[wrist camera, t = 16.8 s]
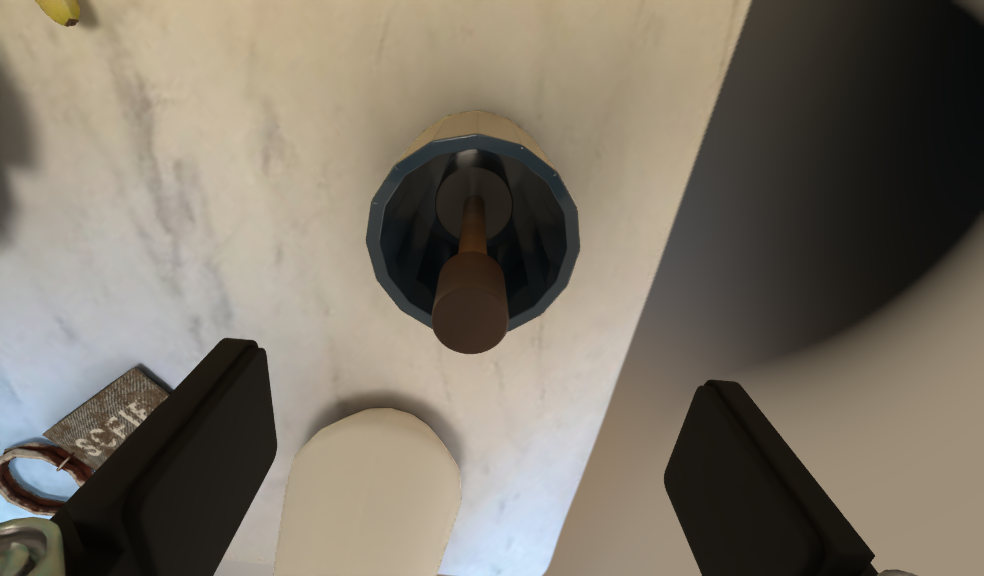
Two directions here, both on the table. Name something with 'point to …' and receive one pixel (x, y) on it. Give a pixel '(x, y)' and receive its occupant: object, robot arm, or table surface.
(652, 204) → the table surface
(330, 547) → the cup
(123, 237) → the table surface
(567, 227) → the container
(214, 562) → the robot arm
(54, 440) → the keychain
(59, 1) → the banana
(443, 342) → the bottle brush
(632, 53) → the table surface
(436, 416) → the table surface
